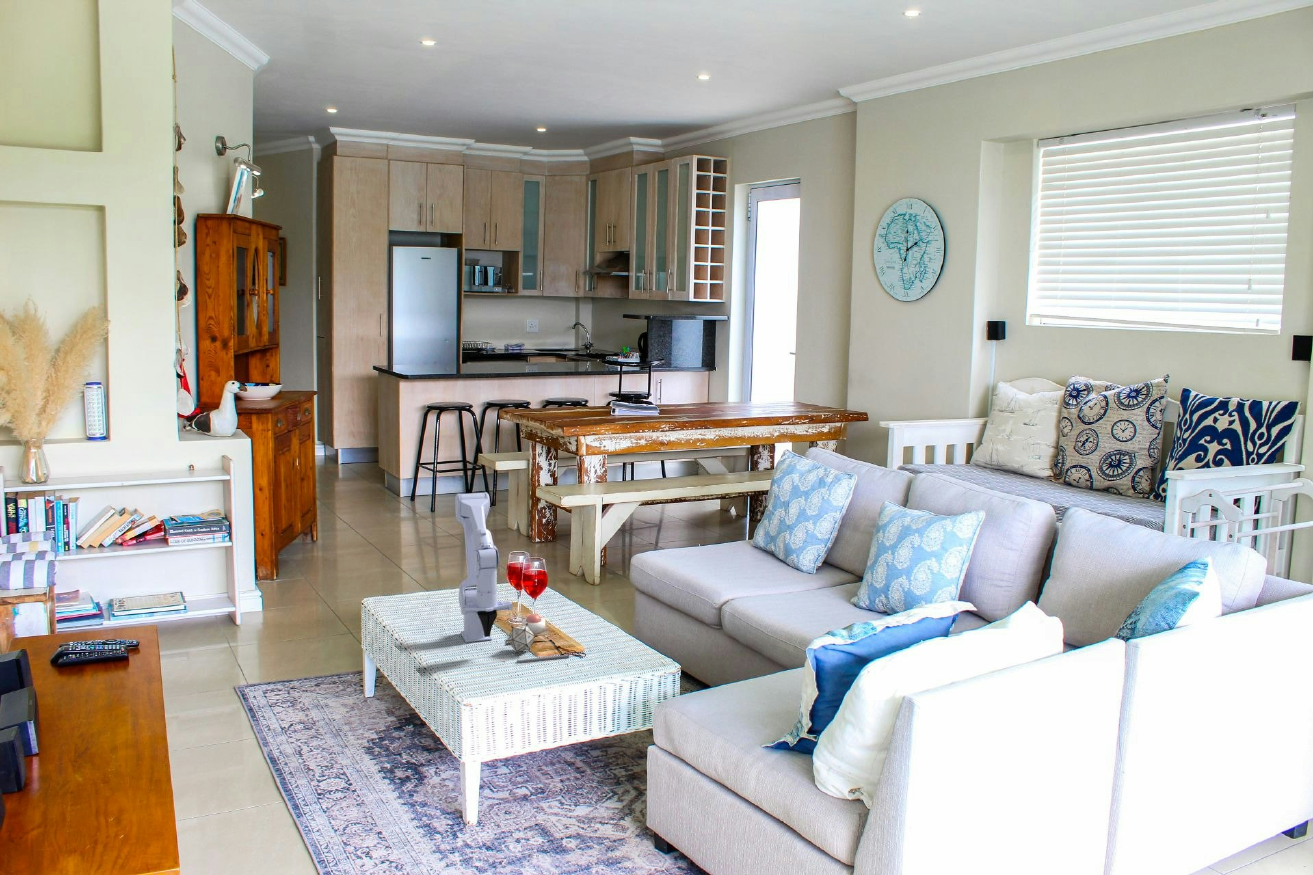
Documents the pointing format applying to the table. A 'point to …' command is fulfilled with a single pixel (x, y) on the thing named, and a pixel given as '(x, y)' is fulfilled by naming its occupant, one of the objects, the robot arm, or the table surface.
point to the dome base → (544, 632)
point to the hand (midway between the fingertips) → (486, 635)
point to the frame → (540, 658)
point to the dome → (534, 623)
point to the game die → (521, 638)
